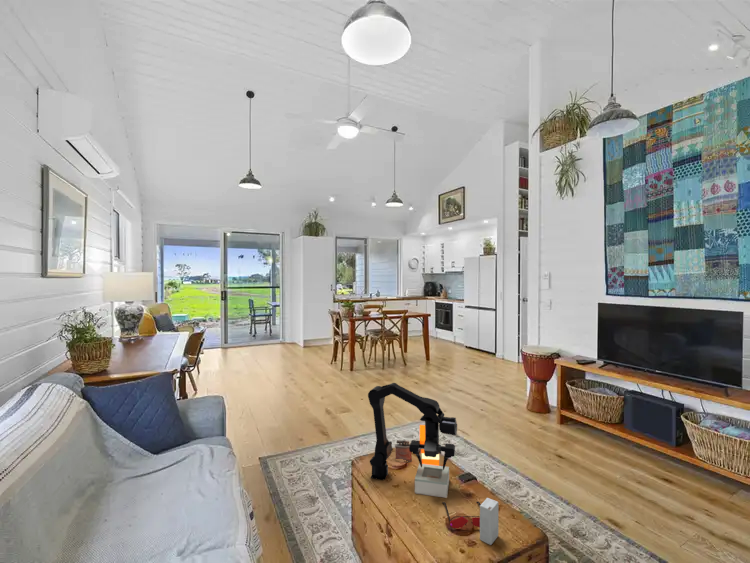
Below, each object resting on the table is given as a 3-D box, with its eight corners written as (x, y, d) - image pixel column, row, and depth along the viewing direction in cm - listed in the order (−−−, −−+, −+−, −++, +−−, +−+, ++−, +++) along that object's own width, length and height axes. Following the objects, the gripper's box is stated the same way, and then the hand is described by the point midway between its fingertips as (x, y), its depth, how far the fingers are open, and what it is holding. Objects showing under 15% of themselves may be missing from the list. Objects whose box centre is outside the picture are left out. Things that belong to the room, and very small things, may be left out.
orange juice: (420, 463, 176) (419, 421, 176) (438, 464, 175) (438, 422, 174) (419, 471, 168) (419, 428, 168) (439, 473, 167) (439, 429, 167)
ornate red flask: (412, 459, 180) (411, 438, 180) (412, 462, 177) (411, 441, 176) (395, 458, 181) (395, 438, 181) (395, 462, 177) (394, 441, 177)
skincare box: (486, 530, 129) (486, 496, 129) (499, 536, 126) (499, 501, 126) (479, 540, 124) (478, 504, 124) (491, 546, 121) (491, 510, 121)
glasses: (450, 532, 129) (450, 518, 129) (442, 503, 145) (441, 490, 145) (490, 532, 129) (490, 517, 129) (477, 503, 145) (477, 490, 145)
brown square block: (425, 488, 154) (425, 481, 154) (427, 481, 159) (427, 475, 159) (437, 490, 153) (437, 483, 153) (438, 483, 158) (438, 476, 157)
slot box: (414, 493, 152) (414, 478, 151) (419, 476, 164) (419, 463, 164) (447, 497, 148) (446, 483, 148) (449, 480, 161) (449, 466, 161)
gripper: (406, 437, 150) (407, 475, 151) (453, 441, 146) (454, 481, 146) (411, 426, 161) (411, 461, 161) (454, 430, 156) (455, 467, 157)
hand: (432, 468), depth 156 cm, fingers open, 9 cm apart
